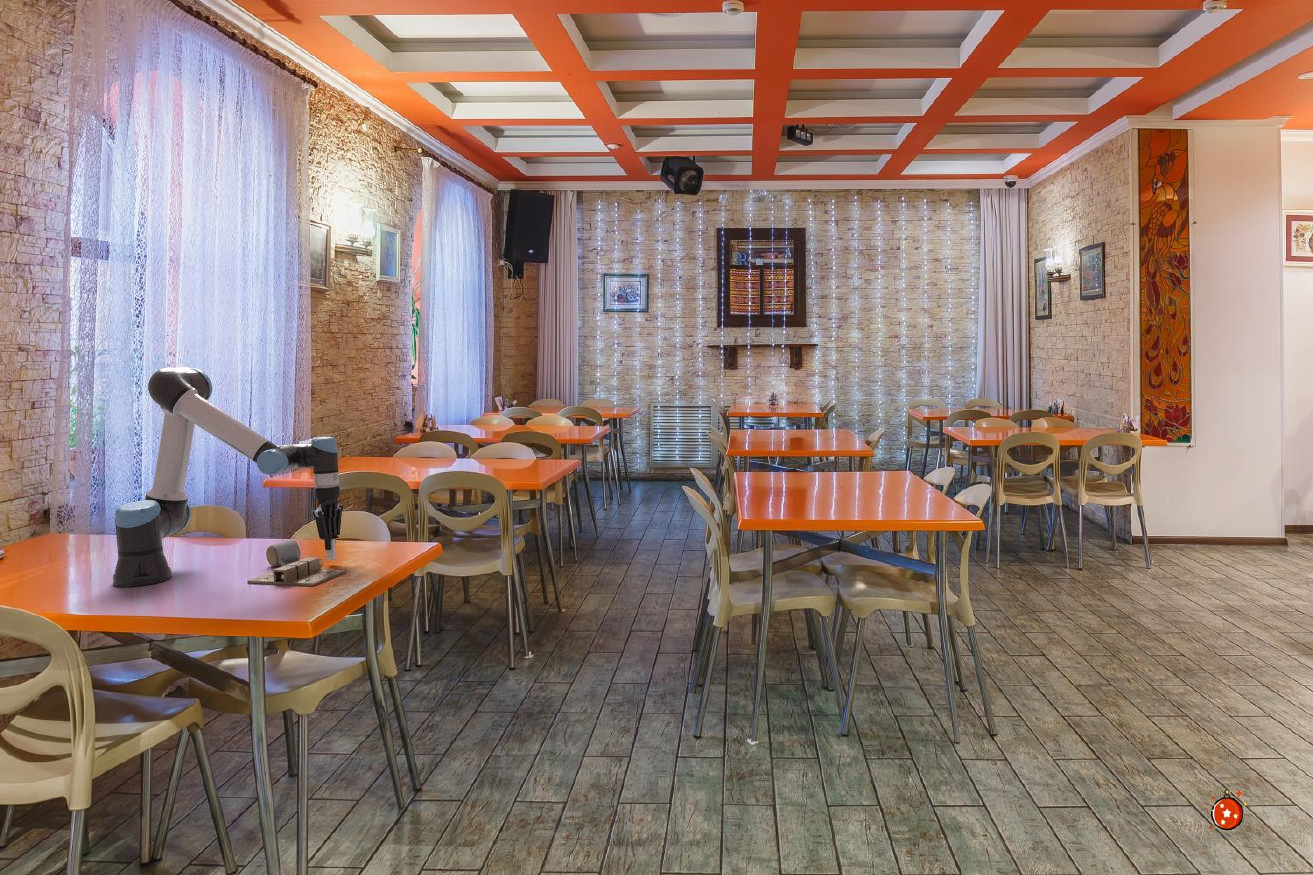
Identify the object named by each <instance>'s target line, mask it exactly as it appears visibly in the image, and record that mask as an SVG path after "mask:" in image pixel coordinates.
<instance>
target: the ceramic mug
mask: <svg viewBox="0 0 1313 875" xmlns="http://www.w3.org/2000/svg"><path fill="white" fill-rule="evenodd" d="M266 560H267V562H268V564H269V565H270V566H271V567H274V568H279V567H282V566H286V565H288V564H290V563H293V562H298V561H299V560H301V549H300V546H299V544H298V542H297V541H296V540H295V539H289V540H288V539H287V540H284V541H281V542H277V543H273V544H271V545H269V546H268V547H267V549H266Z"/></svg>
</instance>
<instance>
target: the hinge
mask: <svg viewBox="0 0 1313 875" xmlns="http://www.w3.org/2000/svg"><path fill="white" fill-rule="evenodd" d="M319 558H320V557H313V556H308V557H305V558H302V559H301V558H300V560H299V561H298V562H293V563H290V564H288V565H286V566H278V567H276V568H273V569H272V570H273V571H271V572H268V573H267V572H266V573H265V574H262V575H258V576H257V577H253V578H251V579H248V580H247V584H253V585H254V584H255V585H274V586H275V585H276V586H278V585H279V586H297V587H298V586H299V587H315V586H318V585H320V584H323V583H325V582H327V581H329V580H332V579H334V578H337V577H339V576H342V575H343V574H344V575H345V574H346V572H347V570H346V569H331V568H330V569H329V568H328V569H327V568H321V569H320V562H319ZM296 568H297V569H296ZM282 573H284V581H281V580H280V579H279V575H280V574H282Z"/></svg>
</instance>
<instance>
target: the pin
mask: <svg viewBox="0 0 1313 875" xmlns="http://www.w3.org/2000/svg"><path fill="white" fill-rule="evenodd" d="M318 558H319V562H320V569H323V567H324V561H323V559H321V558H320V557H318ZM296 569H297V568H296ZM279 579H280V580H281V581H284V573H282V574H280V575H279Z"/></svg>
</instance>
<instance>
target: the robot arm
mask: <svg viewBox="0 0 1313 875" xmlns="http://www.w3.org/2000/svg"><path fill="white" fill-rule="evenodd" d="M147 391H148V393H149V394H148V395H149V396H150V398H151V399H152V400H153V401H154V403H156V404H157V405H158V406H160V407H159V408H160V409H161V410H162V412H163V413H164V417H163V423H162V428H161V429H162V430H161V434H160V435H161V436H160V442H159V448H158V452H157V453H158V455H157V459H156V460H157V461H156V466H155V472H154V478H153V484H152V485H153V486H152V487H151V489H149V490H148V491H147V492H145V499H144V500H138V501H137V500H135V501H133V502H127V503H124V504H122V505H120V506H118V507H117V508H116V509H115V511H114V525H115V536H116V547H117V561H116V565H115V571H114V574H113V575H112V585H113V586H116V587H122V588H124V587H128V588H129V587H140V586H147V585H152V584H158V583H162V582H164V581H168V580H169V579H171V578H172V577H173V575H172V569H171V567H169V564H168V560H167V558H166V556H165V554H164V547H163V546H164V543H163V539H165V538H168V537H172V536H174V535H177V534H179V533H180V532H181V531H183V530H185V529H186V528H187V526H188V525H189V524H190V521H191V519H192V508H191V506H189V503H188V500H189V496H188V494H187V493H186V492H185V485H186V478H187V474H188V473H187V472H188V468H189V467H188V466H189V462H190V455H191V449H192V443H193V436H194V432H195V425H196V426H197V427H199V428H201V429H202V430H203V431H205V432H207V433H208V434H210V435H212V436H213V437H215V439H217V440H220V442H222V443H223V444H226V446H229V447H230V448H231V449H233V450H234V451H236V452H237V453H240V454H241V455H242V456H244V457H246V458H247V459H249V460H250V461H252V462H254V463H255V464H256V466H257V468H258V469H259V471H260V472H261V473H262V474H264V475H267V476H274V475H280V474H282V473H285V472H289V471H291V470H294V469H309V468H310V469H311V468H312V470H313V471H312V473H313V474H312V475H313V486H314V489H313V490H314V493H313V494H314V499H315V500H317V508H316V509H315V510H313V511H312V516H313V517H314V519H315V524H316V530H317V533H318V537H319V539H320V540H321V541H323V540H324V541H323V542H324V550H325V560H327V561H335V560H337V542H336V541H337V540H336V539H339V538H340V535H341V529H342V528H341V525H342V516H343V515H342V514H343V510H344V504H340V503H339V500H338V498H340V497H341V488H340V475H339V474H340V473H339V472H340V471H339V454H338V453H339V450H338V442H337V439H336V438H335V437H332V436H321V437H320V436H319V437H318V436H317V437H313V438H311V440H310V441H311V442H310V443H305V444H303V443H302V444H287V443H286V444H278V445H277V444H274V442H272V441H270V440H268V439H267V438H265V437H264V436H262V435H260V434H259V433H258V432H256V431H254V429H252V428H250V427H249V426H247V425H245V424H244V423H243V422H241V421H239V420H238V419H236V418H235V417H233V416H231V415H230V414H228V413H227V412H225V411H224V410H222V409H220V408H219V407H218V406H216V405H215V404H213V403H211V402H210V401H209V399H210V397H211V396H212V394H213V383H212V380H211V379H210V377H209V376H208V375H207V374H206V373H205V372H204V371H202V370H201V369H198V368H195V367H189V366H183V367H165V368H160V369H159V370H157V371H155V372H154V373H152V375H151V377H150V378H149V381H148V384H147Z"/></svg>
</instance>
